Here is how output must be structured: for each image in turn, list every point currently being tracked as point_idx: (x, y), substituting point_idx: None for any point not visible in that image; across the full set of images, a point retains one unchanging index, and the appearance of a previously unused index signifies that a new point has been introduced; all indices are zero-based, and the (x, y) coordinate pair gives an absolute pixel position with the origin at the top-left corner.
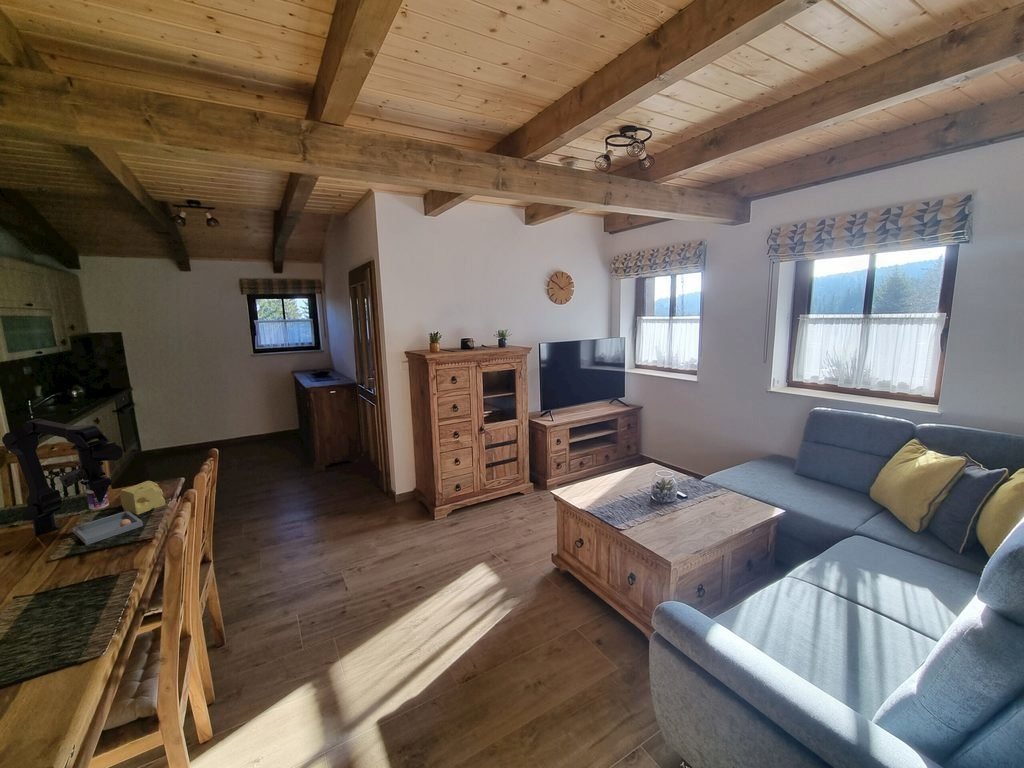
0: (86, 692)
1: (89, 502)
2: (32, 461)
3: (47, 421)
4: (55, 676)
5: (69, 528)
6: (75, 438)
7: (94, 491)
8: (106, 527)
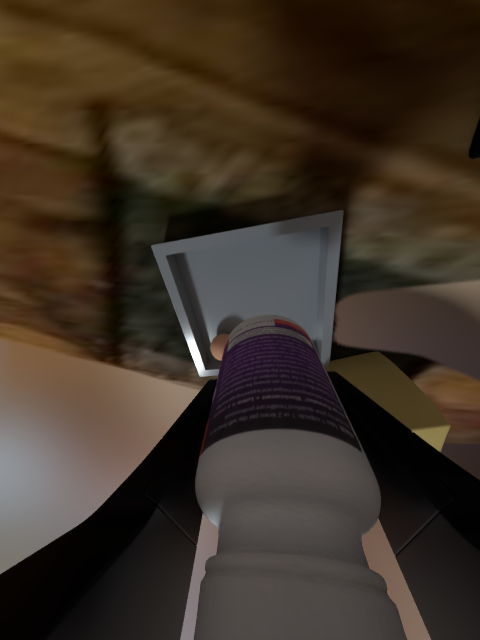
0: None
1: (247, 347)
2: None
3: None
4: None
5: (421, 198)
6: None
7: (98, 511)
8: (274, 303)
